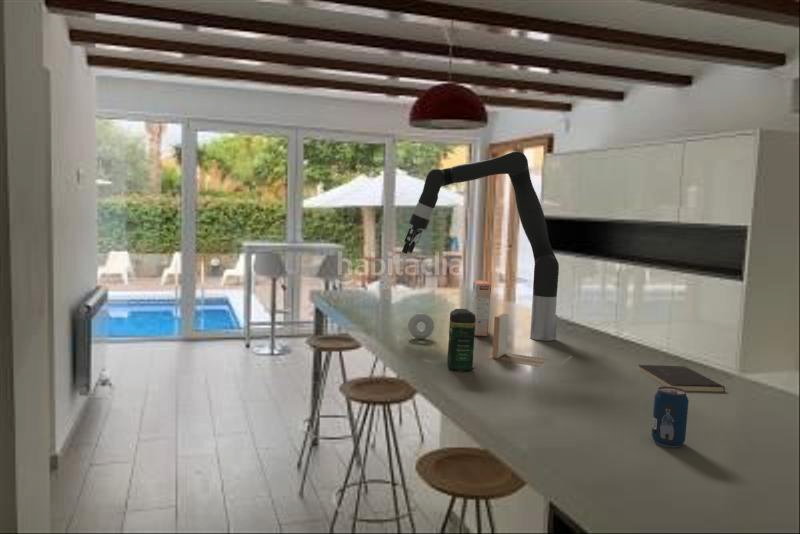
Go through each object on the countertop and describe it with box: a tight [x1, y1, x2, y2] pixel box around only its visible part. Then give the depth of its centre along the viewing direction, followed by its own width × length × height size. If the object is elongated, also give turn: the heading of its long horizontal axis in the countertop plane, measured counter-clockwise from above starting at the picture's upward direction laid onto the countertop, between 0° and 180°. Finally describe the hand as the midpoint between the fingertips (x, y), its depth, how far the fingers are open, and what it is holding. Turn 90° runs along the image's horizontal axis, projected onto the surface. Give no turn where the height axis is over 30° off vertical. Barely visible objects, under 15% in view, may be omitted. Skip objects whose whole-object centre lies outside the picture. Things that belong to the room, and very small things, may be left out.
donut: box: [407, 312, 435, 340], centre depth 242 cm, size 10×4×10 cm, turn 95°
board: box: [485, 352, 549, 367], centre depth 214 cm, size 12×18×1 cm, turn 62°
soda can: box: [651, 386, 689, 448], centre depth 142 cm, size 7×7×12 cm
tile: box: [491, 312, 510, 359], centre depth 216 cm, size 2×9×14 cm, turn 152°
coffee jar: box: [446, 308, 476, 372], centre depth 200 cm, size 10×8×19 cm
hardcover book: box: [638, 364, 726, 393], centre depth 197 cm, size 16×23×2 cm
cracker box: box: [471, 279, 492, 337], centre depth 257 cm, size 14×6×21 cm, turn 179°
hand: (406, 252), depth 262 cm, fingers open, 8 cm apart
